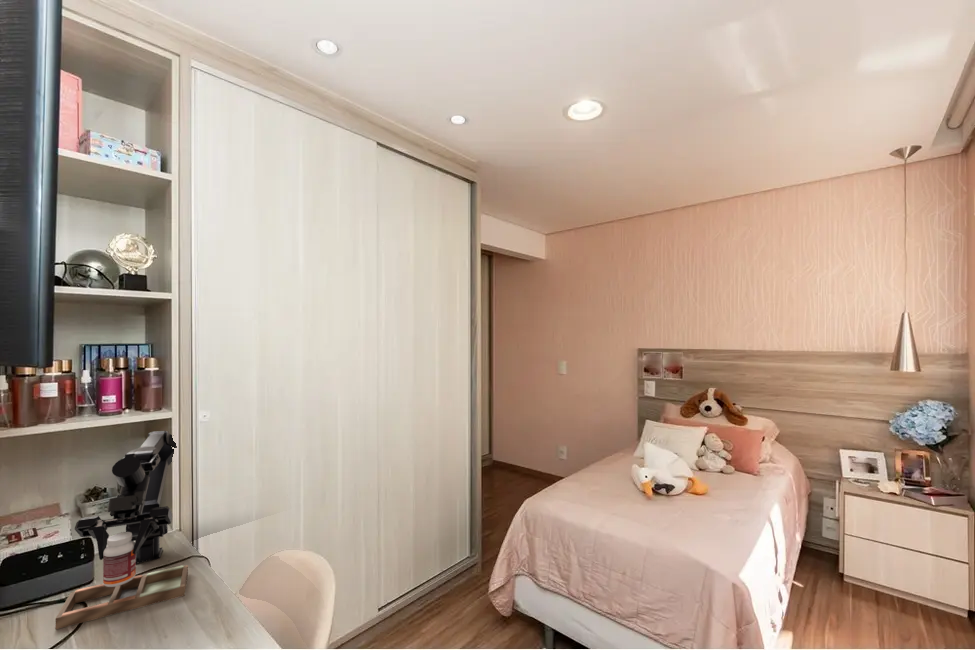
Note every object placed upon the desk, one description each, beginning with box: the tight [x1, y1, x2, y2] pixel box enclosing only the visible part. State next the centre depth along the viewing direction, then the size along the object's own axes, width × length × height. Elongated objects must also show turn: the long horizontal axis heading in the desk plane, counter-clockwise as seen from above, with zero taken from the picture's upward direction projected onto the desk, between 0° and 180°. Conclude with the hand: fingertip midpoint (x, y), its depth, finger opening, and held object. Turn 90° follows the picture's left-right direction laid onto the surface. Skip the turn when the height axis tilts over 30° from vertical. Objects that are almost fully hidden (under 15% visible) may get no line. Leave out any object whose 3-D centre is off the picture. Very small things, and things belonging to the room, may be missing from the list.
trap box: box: [55, 564, 189, 630], centre depth 109 cm, size 24×11×3 cm, turn 121°
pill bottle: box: [102, 531, 137, 587], centre depth 107 cm, size 6×6×11 cm
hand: (117, 556), depth 106 cm, fingers closed on pill bottle, 6 cm apart
